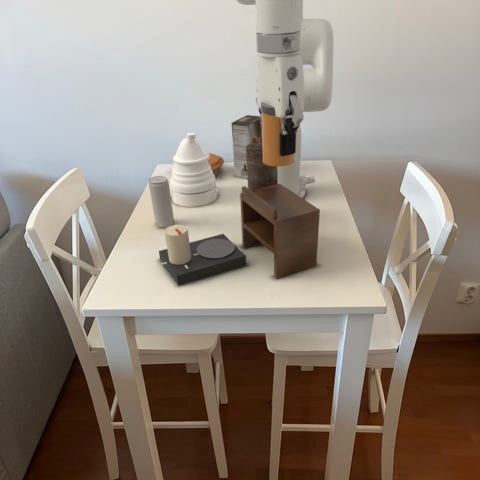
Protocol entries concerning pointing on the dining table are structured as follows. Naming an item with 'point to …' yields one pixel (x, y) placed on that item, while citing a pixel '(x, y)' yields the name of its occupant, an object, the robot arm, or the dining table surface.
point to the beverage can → (161, 201)
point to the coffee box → (244, 140)
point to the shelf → (281, 227)
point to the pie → (215, 163)
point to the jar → (273, 137)
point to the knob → (178, 244)
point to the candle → (259, 168)
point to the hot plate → (202, 263)
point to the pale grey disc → (216, 248)
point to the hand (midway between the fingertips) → (278, 148)
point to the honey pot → (192, 175)
